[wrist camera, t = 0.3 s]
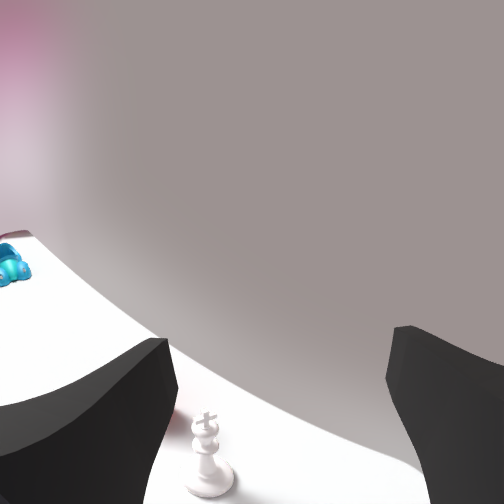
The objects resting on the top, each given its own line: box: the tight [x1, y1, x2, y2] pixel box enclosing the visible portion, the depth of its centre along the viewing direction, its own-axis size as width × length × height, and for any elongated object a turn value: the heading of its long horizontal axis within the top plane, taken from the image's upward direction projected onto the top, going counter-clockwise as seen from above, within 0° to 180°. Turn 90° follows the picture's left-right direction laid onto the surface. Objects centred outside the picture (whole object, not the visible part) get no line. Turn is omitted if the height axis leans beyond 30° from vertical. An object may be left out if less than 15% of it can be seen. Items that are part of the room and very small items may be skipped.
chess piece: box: [180, 408, 234, 497], centre depth 21 cm, size 5×5×10 cm
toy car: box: [0, 243, 31, 287], centre depth 55 cm, size 11×18×7 cm, turn 57°
